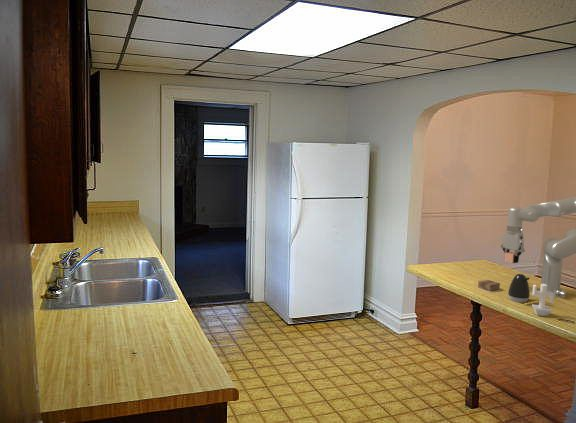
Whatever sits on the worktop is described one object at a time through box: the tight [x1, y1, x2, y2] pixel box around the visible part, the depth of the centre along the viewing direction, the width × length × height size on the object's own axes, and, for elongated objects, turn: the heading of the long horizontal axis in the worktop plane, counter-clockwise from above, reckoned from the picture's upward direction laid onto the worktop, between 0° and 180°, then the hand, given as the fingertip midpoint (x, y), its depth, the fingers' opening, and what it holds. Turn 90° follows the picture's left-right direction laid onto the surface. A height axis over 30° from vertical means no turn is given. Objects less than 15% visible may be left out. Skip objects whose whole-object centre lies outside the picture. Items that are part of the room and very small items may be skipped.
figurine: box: [531, 283, 555, 317], centre depth 242 cm, size 7×9×15 cm
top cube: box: [504, 251, 515, 264], centre depth 280 cm, size 5×5×5 cm
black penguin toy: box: [507, 273, 531, 304], centre depth 261 cm, size 10×10×15 cm
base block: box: [477, 279, 501, 293], centre depth 281 cm, size 8×8×4 cm
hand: (511, 261), depth 281 cm, fingers closed on top cube, 4 cm apart
